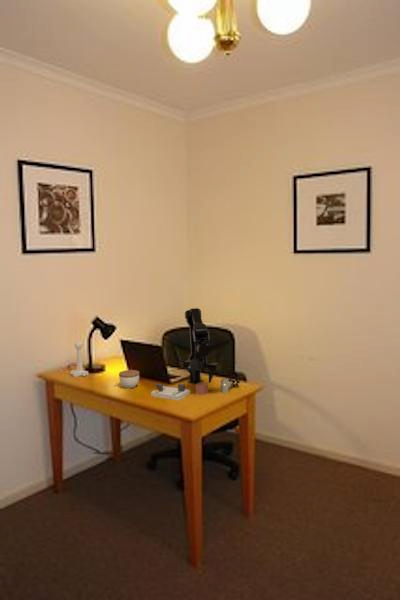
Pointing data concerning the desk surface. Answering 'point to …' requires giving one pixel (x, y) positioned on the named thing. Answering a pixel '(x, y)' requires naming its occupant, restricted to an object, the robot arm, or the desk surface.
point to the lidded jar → (129, 378)
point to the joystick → (79, 362)
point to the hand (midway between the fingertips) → (201, 381)
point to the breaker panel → (170, 393)
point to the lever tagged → (159, 387)
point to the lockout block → (201, 388)
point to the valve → (228, 384)
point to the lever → (181, 387)
